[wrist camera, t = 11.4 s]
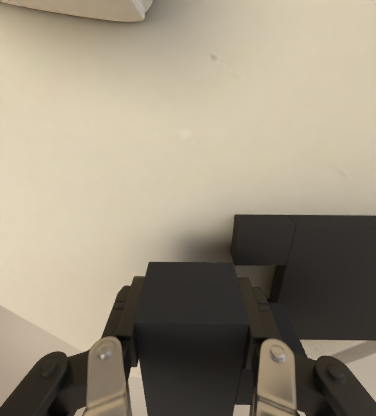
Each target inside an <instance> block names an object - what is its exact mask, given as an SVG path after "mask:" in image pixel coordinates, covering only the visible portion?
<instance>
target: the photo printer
mask: <svg viewBox="0 0 376 416" xmlns="http://www.w3.org/2000/svg"><path fill="white" fill-rule="evenodd" d="M0 2H3V3H8V4H12V5H17V6H22V7H28V8H33V9H38V10H44V11H50V12H56V13H62V14H68V15H75V16H81V17H89V18H96V19H103V20H112V21H123V22H134V21H143V20H144V19H145V12H147V11H148V9H149V8H150V6H151V5H152V3H153V0H0Z"/></svg>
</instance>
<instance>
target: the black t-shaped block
mask: <svg viewBox="0 0 376 416" xmlns="http://www.w3.org/2000/svg"><path fill="white" fill-rule="evenodd" d="M268 305H269V306H270V309H271V312H272V314H273V317H274V320H275V322H276V325H277V327H278V330H279V333H280V335H281V338H282V340H283V342H284V343H285V344H286V345H288V346H289V348H290V349H291V350H292V351H293V352H294V353H296V354H298V355H301V356H303V357H306V358H307V355H306V353H305V351H304V349H303V346H302V344H301V342H300V340H299V338H298V335H297V333H296V331H295V329H294V327H293V324H292V322H291V320H290V318H289V315H288V313H287V311H286V309H285V307H284V304H283V303H268ZM134 324H135V330H136V336H137V343H138V350H139V361H140V368H141V374H142V381H143V386H144V394H145V400H146V407H147V413H148V416H233V410H234V405H235V404H236V405H250V404H251V394H252V385H253V379H254V376H253V372H252V369H245V364H244V359H243V354H244V348H245V343H246V337H247V332H248V326H249V320H248V316H247V312H246V309H245V305H244V301H243V297H242V293H241V289H240V285H239V282H238V278H237V274H236V270H235V266H234V263H206V262H149V264H148V268H147V272H146V276H145V279H144V283H143V287H142V291H141V295H140V299H139V303H138V306H137V310H136V314H135V318H134Z"/></svg>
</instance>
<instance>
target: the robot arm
mask: <svg viewBox="0 0 376 416" xmlns="http://www.w3.org/2000/svg"><path fill="white" fill-rule="evenodd" d="M144 279H145V276H135V277H134V278H133V281H132V284H131V286H124V287H123V288H122V289H121V290H120V291H119V292H118V294H117V297H116V300H115V303H114V305H113V308H112V310H111V313H110V316H109V318H108V321H107V324H106V326H105V329H104V332H103V335H102V337H101V339H100V340H98V341H97V342H96V343H95V344H94V345H93V346H92V347H91V349H89V350H88V351H86V352H83V353H80V354H77V355H73V356H70V357H67V356H66V354H65V353H63V352H59V351H58V352H52V353H50V354H47V355H45V356H44V357H42V358H41V359H40V360H39V361H38V362H37V363H36V364H35V365H34V366H33V368H32V369H31V370H30V371H29V373H28V374H27V375H26V376H25V378H24V379H23V380H22V381H21V382H20V384H19V385H18V386H17V387H16V389H15V390H14V391H13V392H12V394H11V395H10V396H9V397H8V398H7V400H6V401H5V402H4V403H3V405H2V406H1V407H0V416H74V414H75V412H76V411H77V409H80V408H83V407H85V406H86V409H85V411H84V412H83V415H82V416H132V411H131V401H130V391H129V382H128V378H129V373H130V369H131V367H137V365H138V360H139V350H138V343H137V336H136V330H135V324H134V318H135V314H136V310H137V306H138V303H139V299H140V295H141V291H142V287H143V283H144ZM238 282H239V285H240V289H241V293H242V297H243V301H244V305H245V309H246V312H247V316H248V320H249V326H248V332H247V337H246V343H245V348H244V354H243V359H244V364H245V369H252V372H253V376H254V379H253V385H252V394H251V404H250V413H249V416H300V415H299V414H298V412H297V410H299V411H302V412H304V413H305V415H306V416H376V402H375V401H374V399H373V398H372V397H371V396H370V394H369V393H368V392H367V391H366V389H365V388H364V387H363V386H362V385H361V383H360V382H359V381H358V380H357V378H356V377H355V376H354V375H353V373H352V372H351V371H350V370H349V368H348V367H347V366H346V365H345V364H344V363H342V362H341V361H339V360H338V359H336V358H334V357H331V356H321V357H319V358H318V359H317V361H315V360H312V359H309V358H306V357H303V356H301V355H298V354H296V353H294V352H293V351H292V350H291V349H290V348H289V346H288V345H286V344H285V343H284V342H283V340H282V338H281V335H280V333H279V330H278V327H277V325H276V322H275V320H274V317H273V314H272V312H271V309H270V306H269V305H268V301H267V299H266V296H265V294H264V293H263V292H262V291H261V290H260V288H259V287H252V286H251V283H250V280H249V278H238Z"/></svg>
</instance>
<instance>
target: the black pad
mask: <svg viewBox="0 0 376 416" xmlns="http://www.w3.org/2000/svg"><path fill="white" fill-rule="evenodd" d="M231 255H232V259H233V263H234V265H277V266H276V271H275V275H274V280H273V284H272V289H271V293H270V298H269V299H267V301H268V303H283V304H284V307H285V309H286V311H287V313H288V315H289V318H290V320H291V322H292V324H293V327H294V329H295V331H296V333H297V335H298V338H299V339H303V340H376V216H320V215H235V218H234V228H233V237H232V246H231Z"/></svg>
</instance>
